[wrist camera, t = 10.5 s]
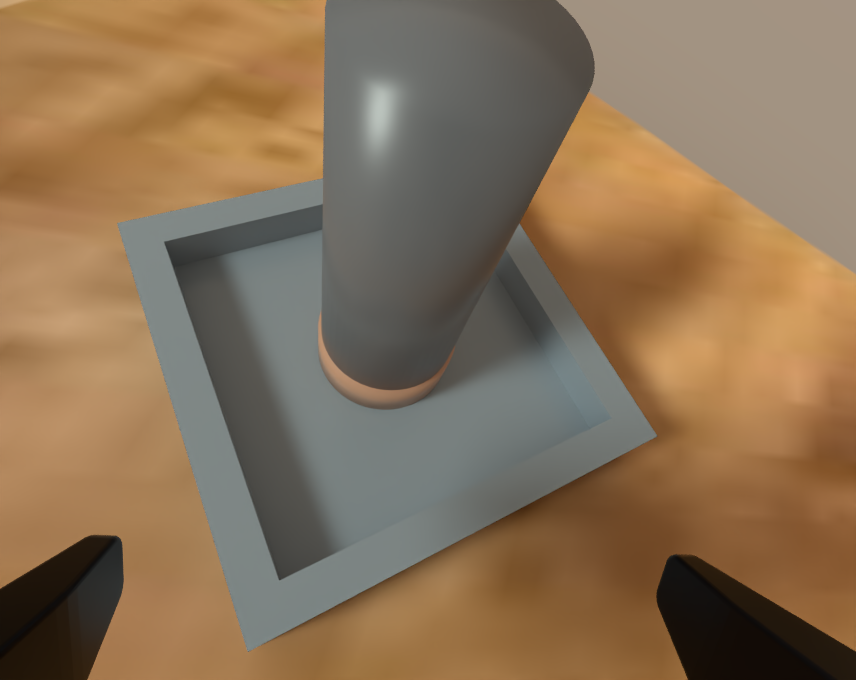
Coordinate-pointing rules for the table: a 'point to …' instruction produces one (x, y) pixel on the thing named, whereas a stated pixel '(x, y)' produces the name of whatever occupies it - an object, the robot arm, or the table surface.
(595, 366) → the tray
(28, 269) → the table surface
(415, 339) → the grey rounded peg
